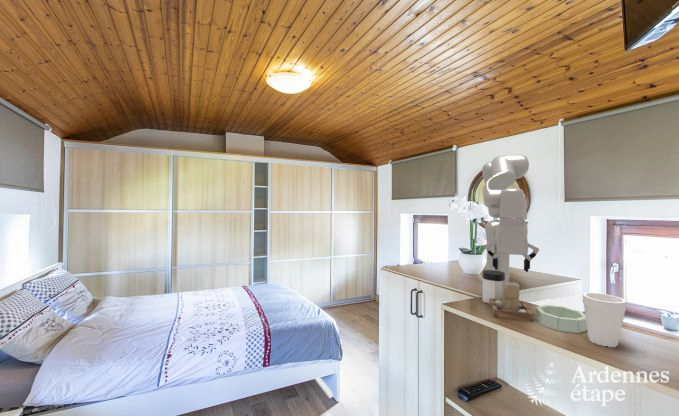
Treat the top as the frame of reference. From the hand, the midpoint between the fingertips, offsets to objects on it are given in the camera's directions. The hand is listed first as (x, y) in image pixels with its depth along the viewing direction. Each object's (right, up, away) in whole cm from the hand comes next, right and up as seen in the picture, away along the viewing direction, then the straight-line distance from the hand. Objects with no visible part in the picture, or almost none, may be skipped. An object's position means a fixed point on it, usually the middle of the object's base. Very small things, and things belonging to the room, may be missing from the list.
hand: (510, 270), depth 109 cm
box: (0, -16, +1) cm, 16 cm away
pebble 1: (-2, -16, +5) cm, 17 cm away
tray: (0, -16, +1) cm, 16 cm away
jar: (0, -16, +13) cm, 20 cm away
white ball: (+2, -16, -4) cm, 17 cm away
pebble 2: (+5, -16, +3) cm, 17 cm away
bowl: (+11, -16, -9) cm, 22 cm away
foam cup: (+14, -17, -22) cm, 31 cm away
